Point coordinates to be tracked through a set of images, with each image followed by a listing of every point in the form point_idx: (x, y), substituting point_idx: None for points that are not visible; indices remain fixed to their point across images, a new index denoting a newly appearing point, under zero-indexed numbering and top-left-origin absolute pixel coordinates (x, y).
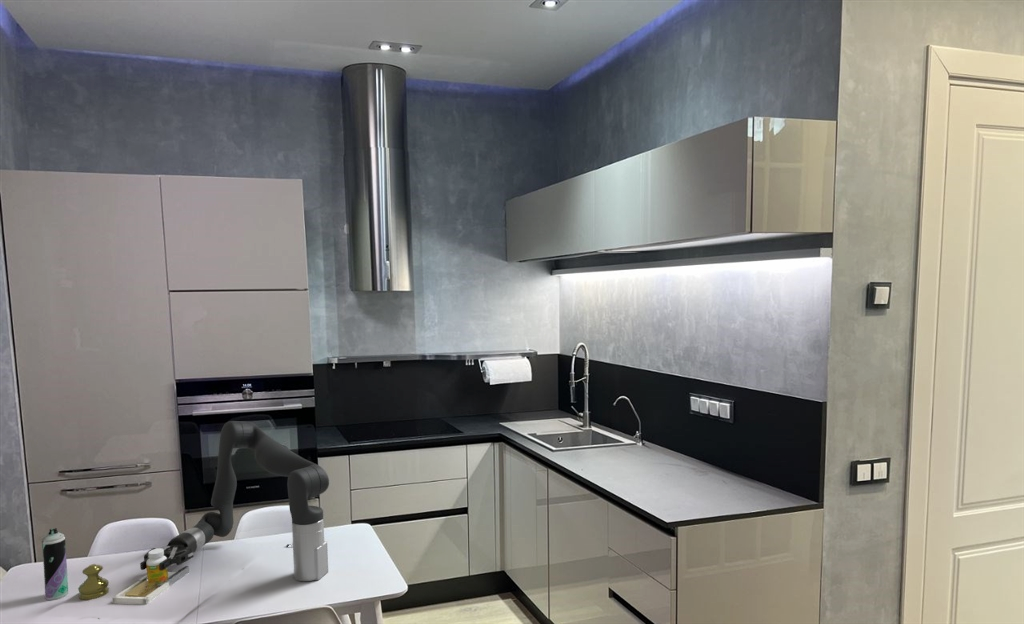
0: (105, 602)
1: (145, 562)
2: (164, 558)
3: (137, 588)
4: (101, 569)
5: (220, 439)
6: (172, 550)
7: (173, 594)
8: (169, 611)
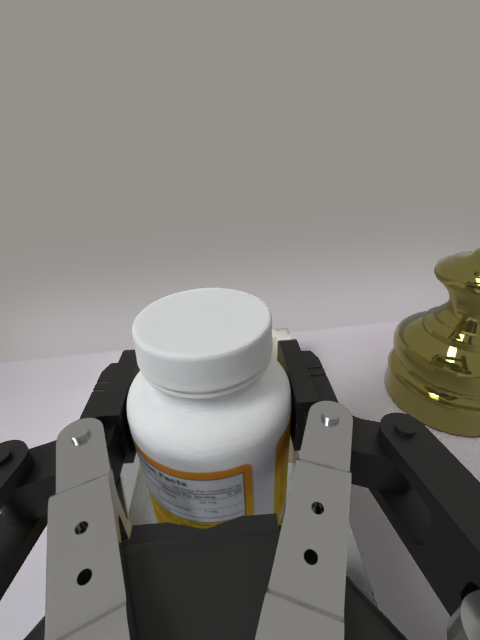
0: (361, 383)
1: (282, 362)
2: (132, 387)
3: None
4: (447, 281)
5: None
6: (115, 560)
7: None
8: (63, 372)
